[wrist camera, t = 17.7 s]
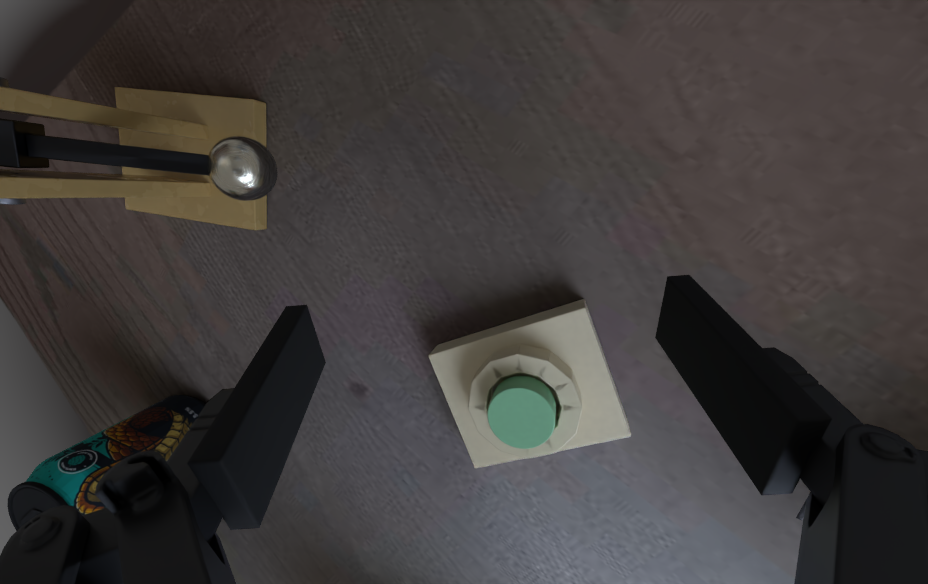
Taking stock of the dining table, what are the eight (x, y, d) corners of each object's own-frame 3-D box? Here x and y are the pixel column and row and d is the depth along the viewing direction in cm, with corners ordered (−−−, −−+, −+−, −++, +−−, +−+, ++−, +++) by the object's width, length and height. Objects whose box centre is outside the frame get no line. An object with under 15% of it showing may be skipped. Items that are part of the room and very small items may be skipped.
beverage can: (241, 438, 38) (100, 544, 26) (199, 471, 40) (52, 583, 28) (192, 377, 37) (27, 457, 26) (152, 414, 40) (-16, 503, 28)
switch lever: (280, 142, 26) (273, 139, 23) (280, 201, 27) (273, 206, 23) (-19, 102, 22) (-83, 91, 18) (-7, 174, 22) (-65, 176, 19)
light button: (543, 367, 25) (541, 380, 24) (564, 425, 26) (564, 441, 24) (483, 384, 27) (477, 396, 25) (505, 439, 27) (501, 455, 26)
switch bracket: (266, 103, 30) (30, 32, 17) (267, 229, 32) (60, 253, 19) (131, 90, 32) (-168, 20, 19) (140, 208, 34) (-120, 218, 21)
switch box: (584, 298, 27) (586, 315, 24) (627, 418, 29) (636, 453, 25) (437, 344, 31) (418, 365, 27) (481, 451, 32) (469, 485, 28)
